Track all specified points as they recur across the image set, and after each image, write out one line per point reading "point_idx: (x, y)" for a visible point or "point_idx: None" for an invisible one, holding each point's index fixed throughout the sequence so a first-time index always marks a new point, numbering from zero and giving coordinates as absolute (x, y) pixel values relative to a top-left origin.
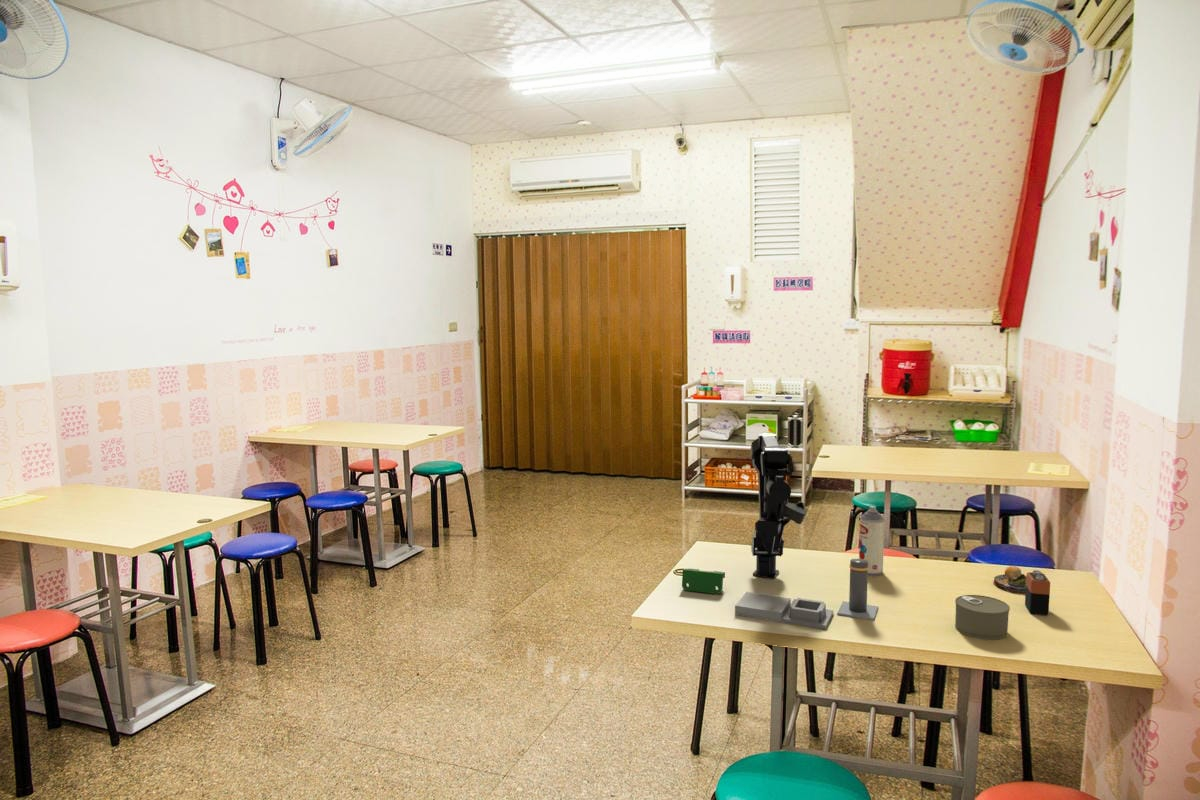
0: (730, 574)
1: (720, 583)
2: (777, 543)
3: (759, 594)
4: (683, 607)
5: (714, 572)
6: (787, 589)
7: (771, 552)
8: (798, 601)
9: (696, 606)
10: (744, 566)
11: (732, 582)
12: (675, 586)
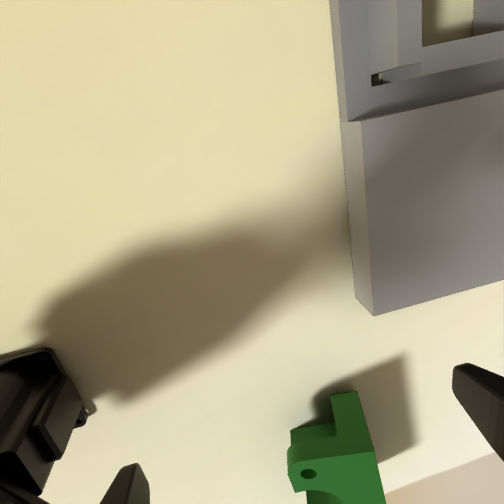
0: None
1: (363, 417)
2: (143, 487)
3: (380, 262)
4: None
5: (355, 477)
6: (134, 237)
7: (484, 371)
8: (432, 45)
9: None
10: None
11: (211, 422)
12: None
